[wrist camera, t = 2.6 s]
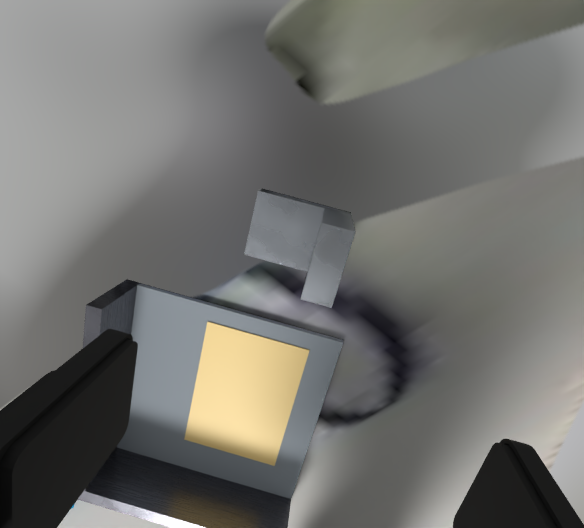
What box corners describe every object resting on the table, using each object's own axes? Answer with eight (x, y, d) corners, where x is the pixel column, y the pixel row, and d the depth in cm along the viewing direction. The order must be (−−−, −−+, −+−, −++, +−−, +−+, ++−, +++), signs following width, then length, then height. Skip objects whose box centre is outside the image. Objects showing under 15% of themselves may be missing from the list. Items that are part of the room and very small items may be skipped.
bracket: (350, 212, 28) (355, 231, 22) (332, 272, 30) (331, 307, 23) (262, 188, 28) (239, 200, 22) (248, 249, 30) (223, 278, 23)
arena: (343, 340, 31) (344, 378, 26) (288, 503, 37) (281, 560, 32) (127, 279, 32) (86, 304, 27) (107, 449, 38) (71, 497, 33)
